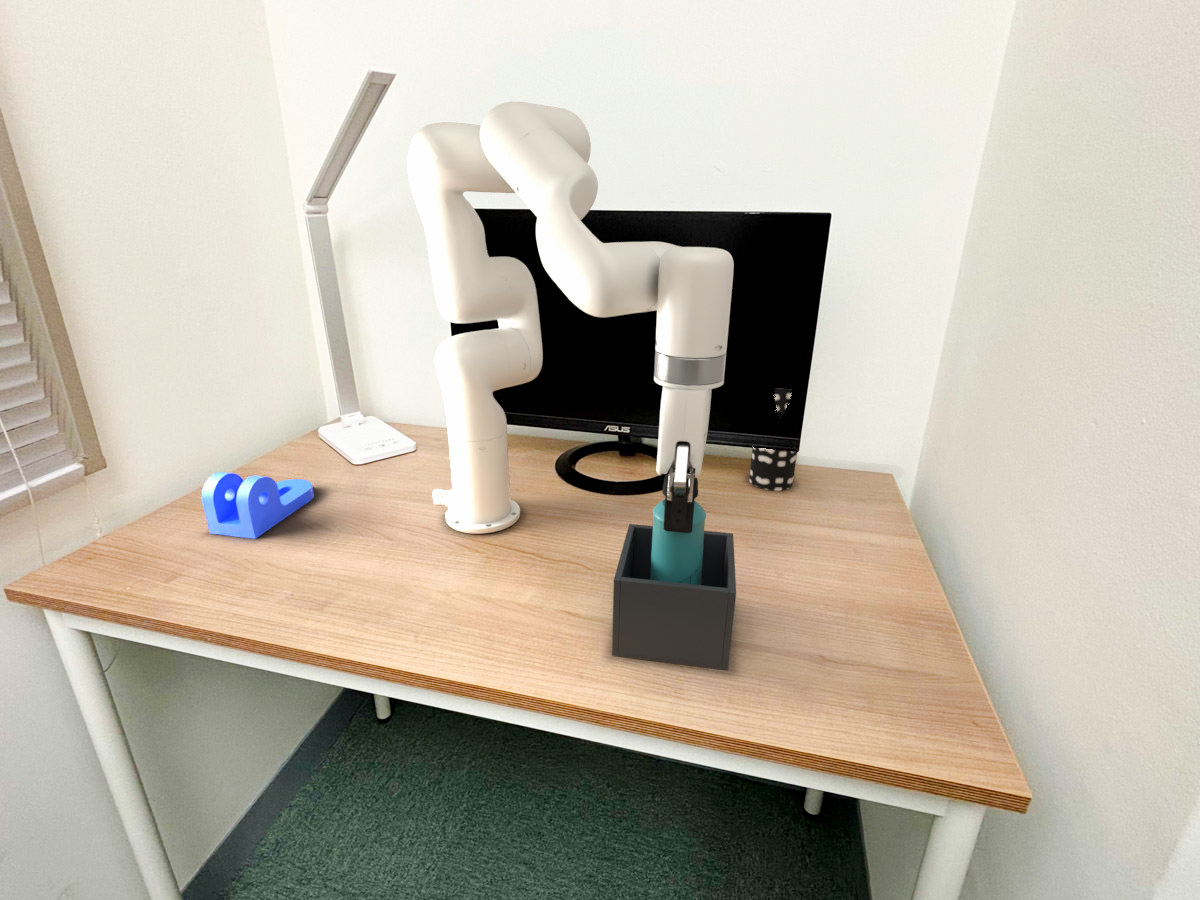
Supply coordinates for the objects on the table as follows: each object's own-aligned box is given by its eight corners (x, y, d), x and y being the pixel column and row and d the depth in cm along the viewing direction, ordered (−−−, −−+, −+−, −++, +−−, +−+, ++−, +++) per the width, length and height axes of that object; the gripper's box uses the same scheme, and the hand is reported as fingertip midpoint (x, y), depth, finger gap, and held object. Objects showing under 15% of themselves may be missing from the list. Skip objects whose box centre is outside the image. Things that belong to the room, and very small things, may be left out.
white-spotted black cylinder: (743, 473, 125) (753, 377, 117) (783, 472, 125) (796, 377, 118) (756, 491, 117) (768, 389, 110) (799, 490, 118) (813, 388, 110)
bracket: (255, 538, 98) (244, 487, 95) (209, 533, 100) (197, 482, 96) (323, 491, 115) (315, 446, 111) (283, 487, 116) (274, 442, 113)
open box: (611, 655, 73) (613, 579, 70) (627, 591, 86) (629, 523, 82) (728, 670, 71) (736, 593, 67) (726, 601, 84) (733, 533, 80)
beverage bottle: (697, 640, 75) (710, 491, 67) (643, 633, 76) (649, 485, 69) (700, 608, 81) (712, 468, 73) (649, 602, 82) (656, 463, 75)
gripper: (661, 349, 75) (654, 483, 81) (646, 387, 59) (639, 550, 66) (723, 352, 74) (712, 488, 80) (726, 391, 58) (711, 557, 64)
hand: (679, 515), depth 73 cm, fingers closed on beverage bottle, 6 cm apart
